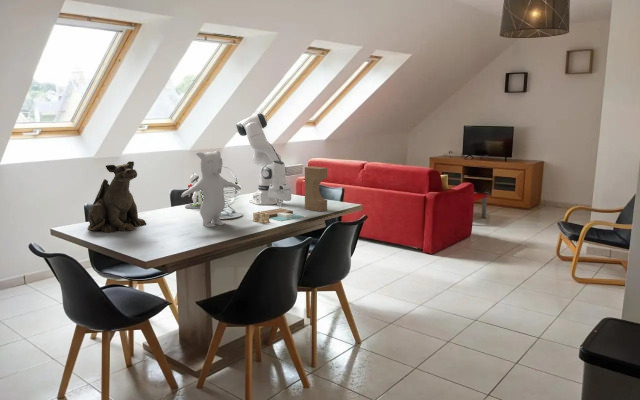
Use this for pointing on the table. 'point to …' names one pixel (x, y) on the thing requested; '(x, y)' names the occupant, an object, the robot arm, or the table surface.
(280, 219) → the mat
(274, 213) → the deck
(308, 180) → the decorative block
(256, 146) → the robot arm
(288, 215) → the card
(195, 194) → the figurine
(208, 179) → the toy bear
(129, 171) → the sculpture
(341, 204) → the table surface
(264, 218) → the oak rack
